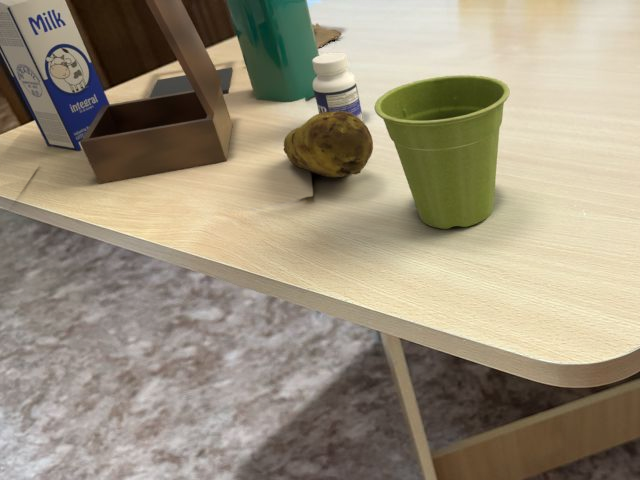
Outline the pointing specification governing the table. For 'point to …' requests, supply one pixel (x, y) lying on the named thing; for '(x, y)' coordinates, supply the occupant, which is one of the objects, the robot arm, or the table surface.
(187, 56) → the lid
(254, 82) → the pitcher
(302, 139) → the potato
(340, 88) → the pill bottle
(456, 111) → the plant pot
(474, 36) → the table surface
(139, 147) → the brown wooden box
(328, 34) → the jawbone
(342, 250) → the table surface
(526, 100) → the table surface
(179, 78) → the mat
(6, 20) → the milk carton
